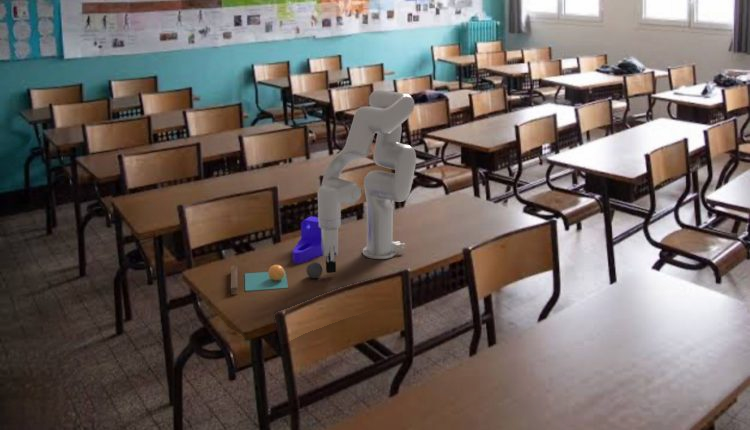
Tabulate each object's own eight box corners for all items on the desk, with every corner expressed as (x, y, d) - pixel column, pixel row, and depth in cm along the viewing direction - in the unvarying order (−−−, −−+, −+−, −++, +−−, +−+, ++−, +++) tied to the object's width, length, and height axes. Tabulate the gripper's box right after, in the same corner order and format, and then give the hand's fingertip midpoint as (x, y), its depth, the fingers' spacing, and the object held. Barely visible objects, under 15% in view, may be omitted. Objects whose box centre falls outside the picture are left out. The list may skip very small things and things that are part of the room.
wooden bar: (237, 272, 252) (237, 265, 251) (237, 294, 235) (237, 287, 235) (231, 272, 252) (231, 266, 251) (231, 294, 235) (230, 287, 234)
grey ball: (307, 258, 248) (303, 272, 250) (309, 264, 243) (305, 279, 245) (323, 261, 250) (319, 275, 251) (325, 267, 245) (320, 282, 246)
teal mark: (285, 271, 253) (285, 270, 253) (288, 288, 240) (288, 287, 240) (244, 274, 251) (244, 273, 251) (245, 291, 238) (245, 290, 238)
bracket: (307, 244, 278) (306, 215, 274) (332, 249, 273) (332, 219, 269) (282, 261, 262) (281, 230, 258) (308, 266, 258) (307, 235, 254)
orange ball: (272, 259, 246) (265, 273, 247) (273, 266, 241) (265, 280, 242) (286, 265, 248) (279, 279, 249) (287, 272, 243) (280, 285, 244)
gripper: (316, 215, 249) (317, 263, 255) (320, 230, 235) (322, 281, 241) (337, 213, 250) (339, 262, 256) (343, 228, 236) (344, 279, 242)
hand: (331, 271), depth 249 cm, fingers closed
